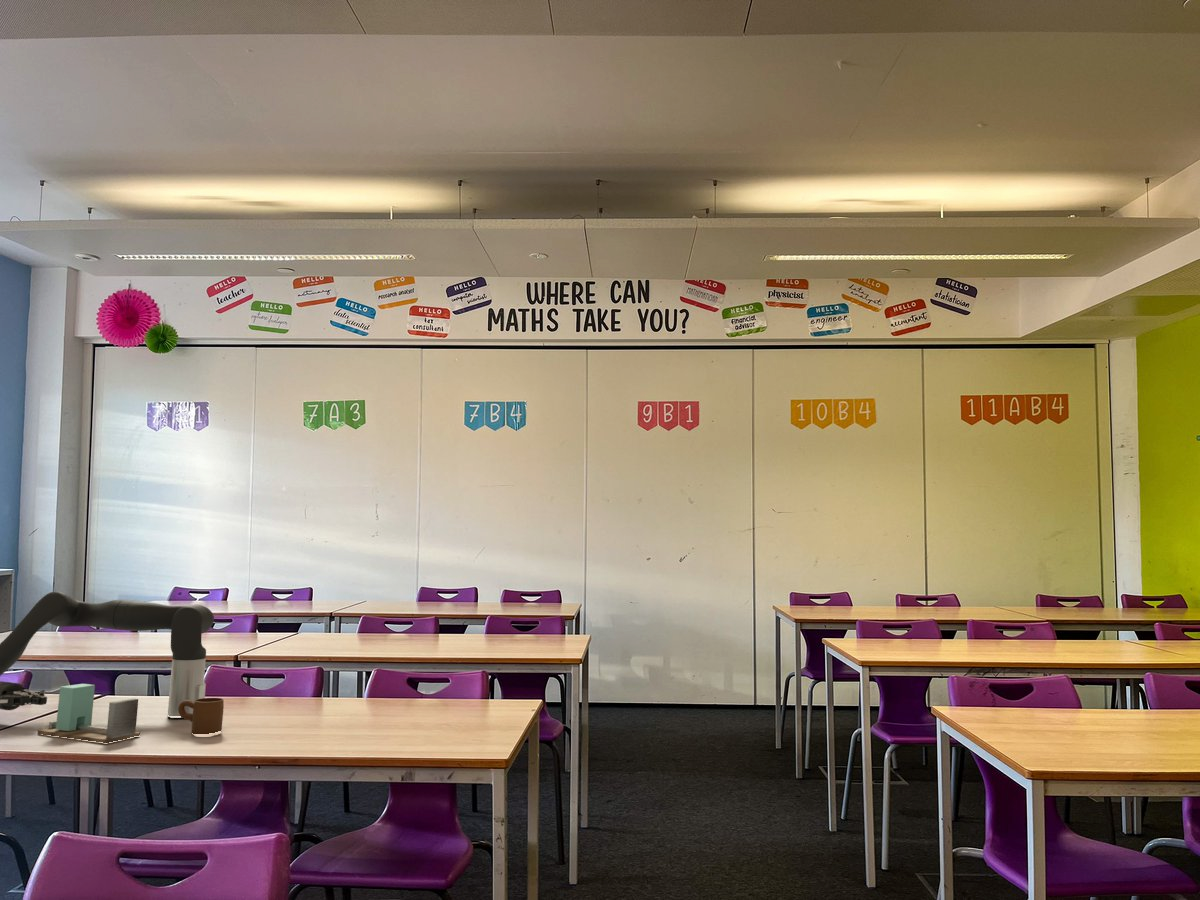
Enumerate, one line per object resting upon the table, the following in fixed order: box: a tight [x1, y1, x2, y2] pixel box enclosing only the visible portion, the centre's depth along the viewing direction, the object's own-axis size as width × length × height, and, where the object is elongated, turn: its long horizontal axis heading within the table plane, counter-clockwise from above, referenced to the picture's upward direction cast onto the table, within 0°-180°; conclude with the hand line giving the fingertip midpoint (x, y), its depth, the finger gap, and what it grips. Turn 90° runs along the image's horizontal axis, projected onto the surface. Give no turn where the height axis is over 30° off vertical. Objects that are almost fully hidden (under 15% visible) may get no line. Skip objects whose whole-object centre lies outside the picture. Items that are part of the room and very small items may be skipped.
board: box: [37, 727, 141, 743], centre depth 223 cm, size 26×10×1 cm, turn 69°
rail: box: [48, 698, 139, 739], centre depth 224 cm, size 26×7×9 cm, turn 69°
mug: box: [178, 697, 225, 734], centre depth 228 cm, size 12×8×9 cm, turn 90°
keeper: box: [56, 683, 96, 731], centre depth 226 cm, size 5×6×11 cm
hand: (44, 700), depth 231 cm, fingers closed
